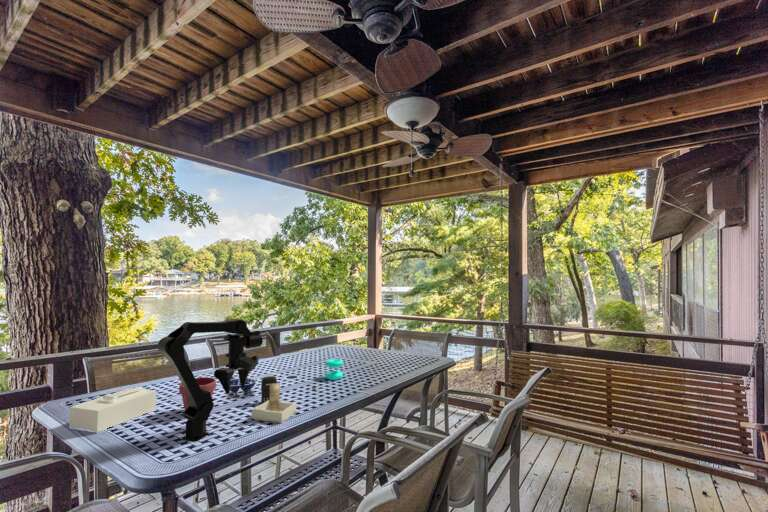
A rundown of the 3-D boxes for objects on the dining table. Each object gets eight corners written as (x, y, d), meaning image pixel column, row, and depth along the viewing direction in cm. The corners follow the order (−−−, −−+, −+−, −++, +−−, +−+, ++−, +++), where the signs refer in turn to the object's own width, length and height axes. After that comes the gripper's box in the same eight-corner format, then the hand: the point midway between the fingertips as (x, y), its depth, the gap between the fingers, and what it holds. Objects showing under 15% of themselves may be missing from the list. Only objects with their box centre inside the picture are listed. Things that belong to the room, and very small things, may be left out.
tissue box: (69, 430, 141) (70, 400, 142) (130, 407, 165) (131, 382, 166) (97, 434, 137) (98, 404, 138) (155, 410, 161) (156, 385, 162)
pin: (276, 415, 152) (277, 386, 153) (267, 415, 153) (267, 385, 153) (280, 412, 156) (281, 383, 157) (272, 411, 157) (272, 382, 157)
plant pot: (200, 419, 151) (201, 387, 152) (170, 416, 154) (171, 385, 155) (222, 406, 165) (222, 377, 166) (194, 404, 168) (194, 376, 169)
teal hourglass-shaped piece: (343, 362, 208) (325, 362, 207) (343, 380, 207) (325, 380, 206) (343, 358, 218) (326, 358, 217) (343, 375, 217) (326, 376, 216)
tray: (281, 423, 147) (281, 412, 147) (251, 419, 151) (251, 409, 151) (295, 412, 158) (296, 403, 158) (267, 409, 162) (267, 400, 162)
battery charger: (261, 404, 169) (261, 378, 169) (260, 401, 172) (261, 376, 173) (277, 402, 172) (277, 377, 172) (276, 399, 175) (276, 375, 176)
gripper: (238, 356, 137) (237, 399, 136) (267, 347, 155) (266, 385, 154) (213, 355, 140) (212, 397, 139) (244, 346, 158) (243, 383, 157)
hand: (235, 390), depth 147 cm, fingers open, 9 cm apart
